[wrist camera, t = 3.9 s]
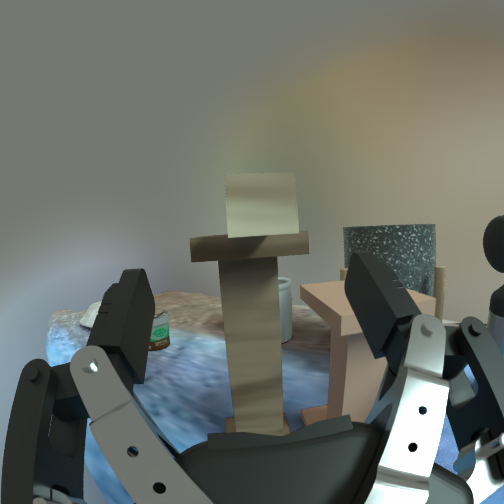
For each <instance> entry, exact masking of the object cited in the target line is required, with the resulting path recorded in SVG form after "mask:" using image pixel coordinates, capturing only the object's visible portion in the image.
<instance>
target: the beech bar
mask: <svg viewBox="0 0 504 504" xmlns="http://www.w3.org/2000/svg"><path fill="white" fill-rule="evenodd" d="M224 178H225V195H226V212H227V227H228V238H233V237H248V236H263V235H279V234H295V233H299V224H298V209H297V195H296V183H295V172H280V173H252V174H251V173H250V174H232V175H224Z"/></svg>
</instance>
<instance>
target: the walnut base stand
mask: <svg viewBox="0 0 504 504" xmlns="http://www.w3.org/2000/svg"><path fill="white" fill-rule="evenodd" d="M190 250H191V262H204V261H218V265H219V277H220V289H221V301H222V312H223V322H224V332H225V342H226V352H227V361H228V370H229V378H230V387H231V395H232V403H233V411H234V417H228V418H226V433H232V432H249V433H257V434H266V435H275V436H283V435H287V434H289V433H291V432H290V429H289V426H288V423H287V419H286V416H285V413H284V412H283V389H282V354H281V327H280V304H279V283H278V265H277V256H288V255H301V254H309V242H308V231H299V233H295V234H279V235H263V236H248V237H233V238H228V234H227V235H213V236H203V237H196V238H190Z"/></svg>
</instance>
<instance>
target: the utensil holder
mask: <svg viewBox="0 0 504 504" xmlns="http://www.w3.org/2000/svg"><path fill="white" fill-rule="evenodd" d="M278 283H279V304H280V327H281V343H284V342H286V341H288V340H290V339H291V338H292V297H291V285H292V281H291V280H290V279H289V278H282V277H278Z"/></svg>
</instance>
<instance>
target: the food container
mask: <svg viewBox="0 0 504 504" xmlns="http://www.w3.org/2000/svg"><path fill="white" fill-rule="evenodd" d="M169 321H170V316H169V314H168V312H167V311H165V310H163V313H160V314H158V315H154V320H153V326H152V332H151V337H150V343H149V350H148V351H157V350H162V349H165V348H167V347H168V346H169V345H170V339H169V324H168V322H169Z"/></svg>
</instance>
